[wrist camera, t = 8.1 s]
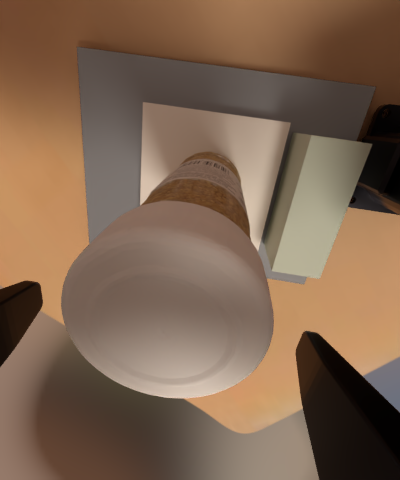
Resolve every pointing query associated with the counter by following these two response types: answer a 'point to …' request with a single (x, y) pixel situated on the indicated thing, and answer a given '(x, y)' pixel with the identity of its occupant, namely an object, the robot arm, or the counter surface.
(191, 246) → the sprinkles bottle
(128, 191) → the board
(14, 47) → the counter surface
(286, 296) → the counter surface
